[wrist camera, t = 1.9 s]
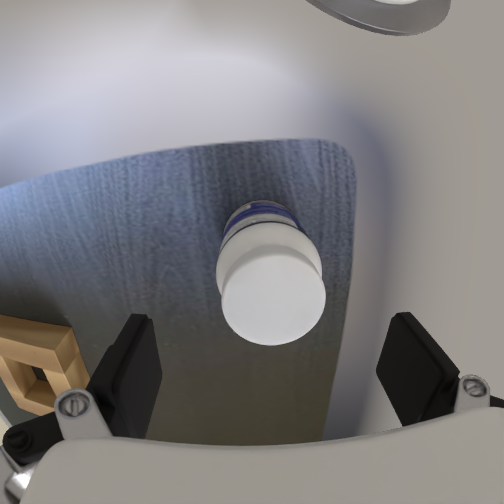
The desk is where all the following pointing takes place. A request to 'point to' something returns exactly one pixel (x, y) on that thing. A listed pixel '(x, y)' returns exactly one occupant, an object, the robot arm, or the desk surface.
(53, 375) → the holder
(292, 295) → the pill bottle
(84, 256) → the desk surface
